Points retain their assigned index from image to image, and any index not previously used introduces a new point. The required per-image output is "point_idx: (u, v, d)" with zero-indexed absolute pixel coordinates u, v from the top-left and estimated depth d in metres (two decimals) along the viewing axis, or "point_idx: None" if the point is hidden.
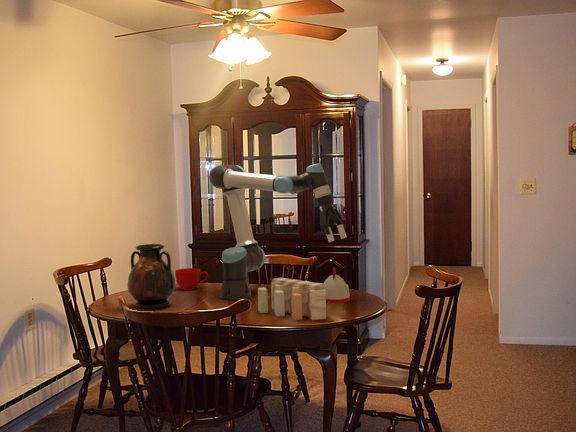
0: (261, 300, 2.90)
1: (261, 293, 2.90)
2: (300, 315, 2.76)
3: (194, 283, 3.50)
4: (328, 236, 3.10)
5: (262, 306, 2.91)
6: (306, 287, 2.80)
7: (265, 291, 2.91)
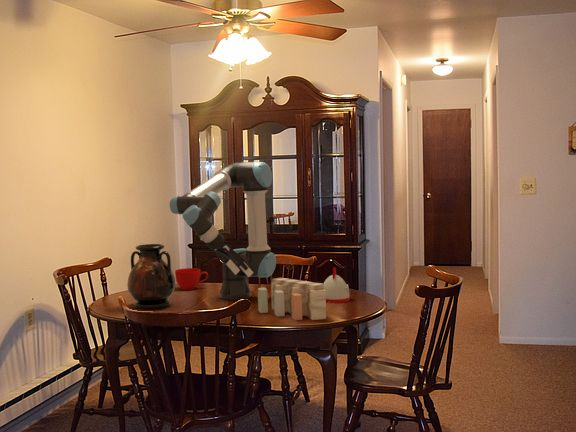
0: (261, 300, 2.90)
1: (261, 293, 2.90)
2: (300, 315, 2.76)
3: (194, 283, 3.50)
4: None
5: (262, 306, 2.91)
6: (306, 287, 2.80)
7: (265, 291, 2.91)
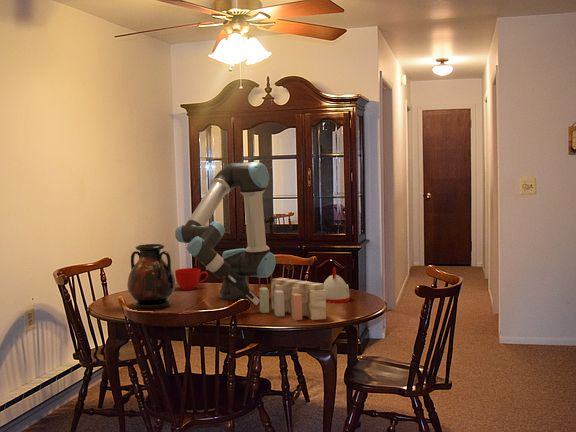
0: (262, 300, 2.91)
1: (262, 293, 2.90)
2: (300, 315, 2.76)
3: (194, 283, 3.50)
4: None
5: (263, 306, 2.91)
6: (306, 287, 2.80)
7: (266, 291, 2.91)
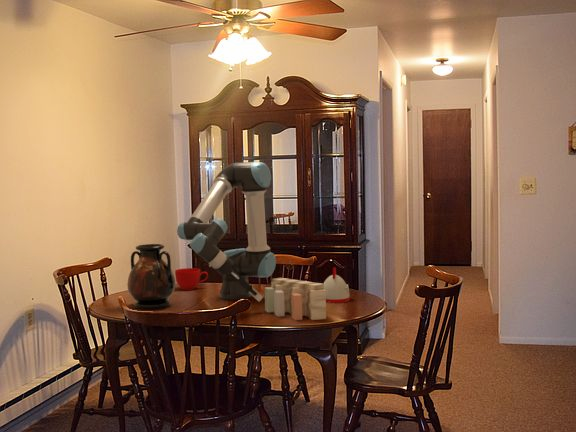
0: (268, 299, 2.91)
1: (268, 292, 2.91)
2: (300, 315, 2.76)
3: (194, 283, 3.50)
4: None
5: (269, 305, 2.91)
6: (306, 287, 2.80)
7: (272, 290, 2.91)
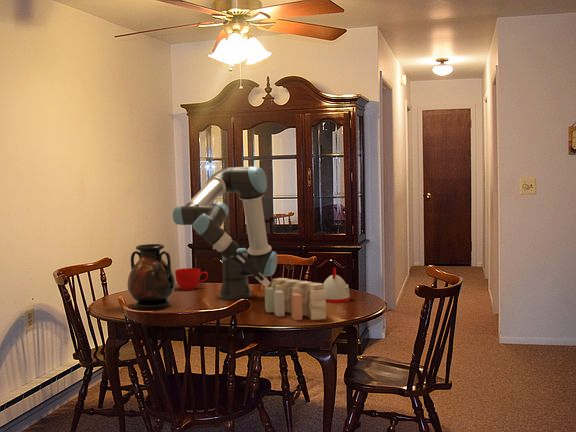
0: (268, 299, 2.91)
1: (268, 292, 2.91)
2: (300, 315, 2.76)
3: (194, 283, 3.50)
4: None
5: (269, 305, 2.91)
6: (306, 287, 2.80)
7: (272, 290, 2.91)
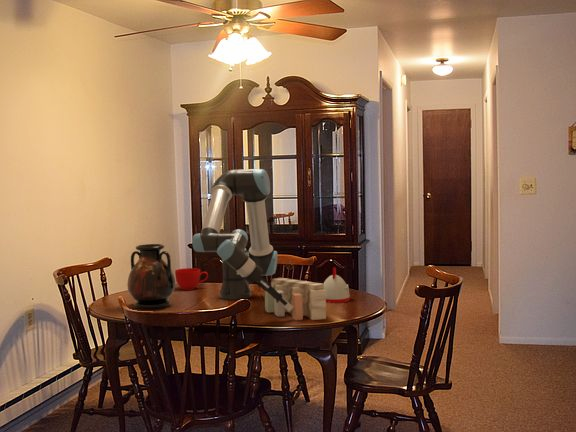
0: (268, 299, 2.91)
1: None
2: (301, 315, 2.77)
3: (194, 283, 3.50)
4: None
5: (269, 305, 2.91)
6: (306, 287, 2.80)
7: None
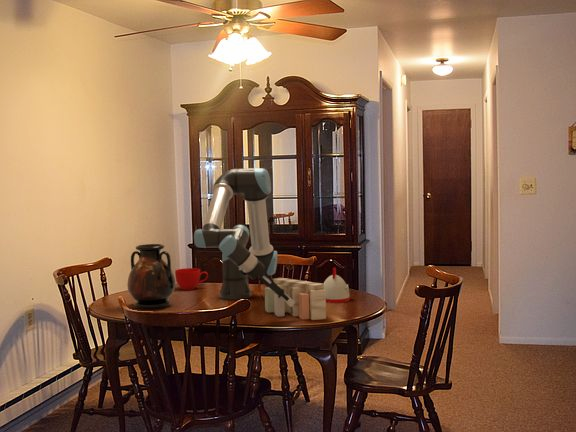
0: (268, 299, 2.91)
1: (268, 292, 2.91)
2: (307, 314, 2.77)
3: (194, 283, 3.50)
4: None
5: (269, 305, 2.91)
6: (306, 287, 2.80)
7: (272, 290, 2.91)
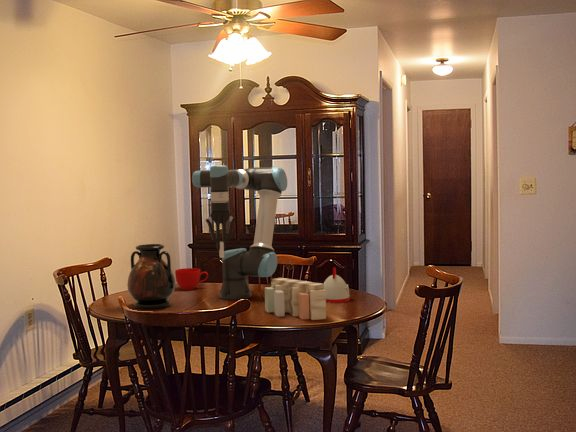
0: (268, 299, 2.91)
1: (268, 292, 2.91)
2: (307, 314, 2.77)
3: (194, 283, 3.50)
4: (219, 251, 2.91)
5: (269, 305, 2.91)
6: (306, 287, 2.80)
7: (272, 290, 2.91)
